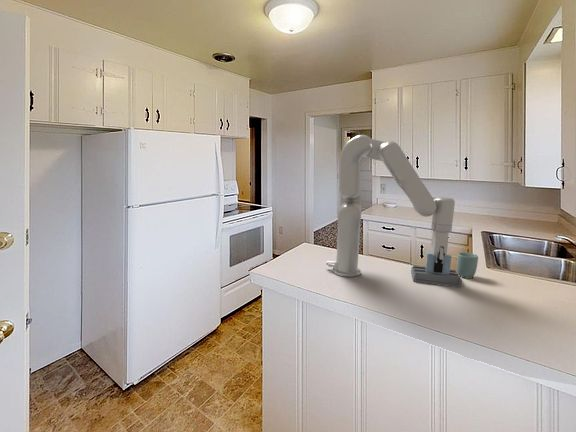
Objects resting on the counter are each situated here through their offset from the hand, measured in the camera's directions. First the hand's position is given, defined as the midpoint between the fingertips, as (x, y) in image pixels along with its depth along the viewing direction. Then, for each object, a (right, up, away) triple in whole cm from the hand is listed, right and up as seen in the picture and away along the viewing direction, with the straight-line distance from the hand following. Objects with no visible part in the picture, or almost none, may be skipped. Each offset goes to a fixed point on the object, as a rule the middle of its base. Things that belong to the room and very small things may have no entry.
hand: (436, 270), depth 131 cm
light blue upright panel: (0, -4, +1) cm, 4 cm away
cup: (+17, -4, +8) cm, 19 cm away
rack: (0, -5, +3) cm, 6 cm away
